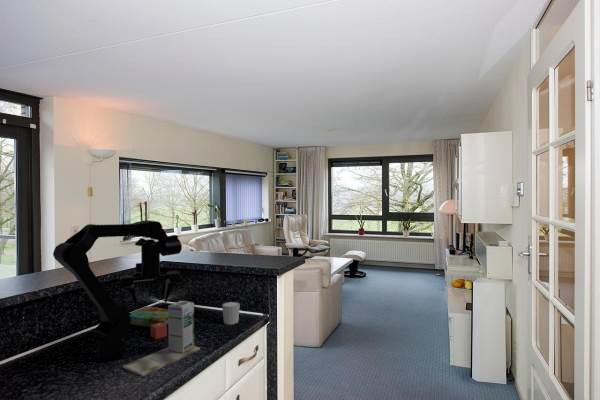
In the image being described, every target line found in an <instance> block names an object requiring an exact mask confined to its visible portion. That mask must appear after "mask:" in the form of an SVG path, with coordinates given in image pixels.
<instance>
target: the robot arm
mask: <svg viewBox="0 0 600 400" xmlns="http://www.w3.org/2000/svg"><path fill="white" fill-rule="evenodd" d="M133 236H134V237H140V238H139V239H138V240H137V241H136V242H135V243H134V246H137V247H141V262H138V263H137V262H136V263H135V274H140V276H135V277H134V275H133V274H126V275H125V274H123V275H121V276H120V277H119V288H124V289H123V290H125V291H128V293H129V295H130V296H131V298H132V302H133V303H134V307H137V306H138V305H137V304H138V303H137V302H138V301H137V297H136V296H137V295H136V289H135V284H137V283H147V282H148V283H149V282H150V283H151V282H159V281H160V282H161V281H165V289H164V304H165V303H166V304H167V302H168V299H169V295H171V294H170V293H171V292H172V289H173V288H174V286H175V285H177V284H178V283H180V282H182V275H181V273H180V272H179V271H178V270H172V271H171V270H170V271H167V272H166V274H161V267H160V266H161V256H162V257H165V256H167V257H168V256H174V255H179V254H180V253H181V252H182V248H183V245H182V243H181V241H180V239H179V235H176V234H173V235H172V234H171V235H168V234H167V233H166V232H165V230H164V229H163V225H162V223H161V222H160V221H156V220H146V219H145V220H140V221H136V222H133V223H123V224H121V223H120V224H119V223H117V224H113V223H112V224H93V223H89V224H85V225H84V227H82V229H80V230H79V231H77V232H76V233H75V234H72V235H71V236H70V237H69V238H67V239H66V240H65V241H64V242H61V243H59V244H57V245H56V246H55V248H54V250H53V252H52V256H53V257H54V260H56V262H58V263H59V264H60V265H61V266H62V267H63V268H64V269H66V270H67V271H69V272H70V273H71V274H72V275H73V276H74V277H75V279H76V280H77V282H79V285H80V286H81V287H82V288H83V290H84V291H85V293H86V294H87V296H89V298H90V299H91V300H92V302H93V304H94V305H95V307H97V309H98V314H99V318H100V320H101V321H100V322H99V324H98V325H97V326H96V327H95V328H94V334H95V335H96V337H98V358H97V359H98V360H97V362H98V363H104V362H110V361H116V360H121V359H123V355H124V354H125V337H126V335H127V331H128V328H129V327H130V325H131V324H130V322H131V317H130V316H129V315H131V313H130V311H128V309H127V307H126V305H125V304H124V303H121V302H118V301H114V300H113V299H112V298H111V296H110V294H108V292H107V290H106V289H105V288H104V286H103V284H102V283H101V282H100V280H99V279H98V277H97V276H96V274H95V273H94V271H93V270H92V268H90V261H89V257H88V255H87V253H88V252H89V251H90V250H91V249H92V247H93V246H94V244H95V243H96V241H97V240H98V239H99V238H117V237H133ZM145 238H147V239H145ZM155 240H157V241H155Z"/></svg>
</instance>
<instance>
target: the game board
mask: <svg viewBox="0 0 600 400" xmlns="http://www.w3.org/2000/svg"><path fill="white" fill-rule="evenodd" d="M199 350H201V347H200V346H199V347H198V346H196V345H194V346H193V347H191V348H190V349H188V350H186V351H185V352H184V353H181V352H175V351H171V350H169V346H167V347H165V348H162V349H160V350H159V351H156V352H153V353H151V354H149V355H145V356H143V357H142V358H139V359H136V360H134V361H131V362H129V363H127V364H124V365H123V366H122V368H123V369H124V370H127V371H129V372H132V373H134V374H136V375H139V376H141V377H145V376H146V375H149V374H152V373H153V372H155V371H157V370H159V369H162V368H163V367H166V366H168V365H170V364H172V363H174V362H177V361H178V360H182V359H183V358H185V357H187V356H189V355H192V354H194V353H196V352H198V351H199Z"/></svg>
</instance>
